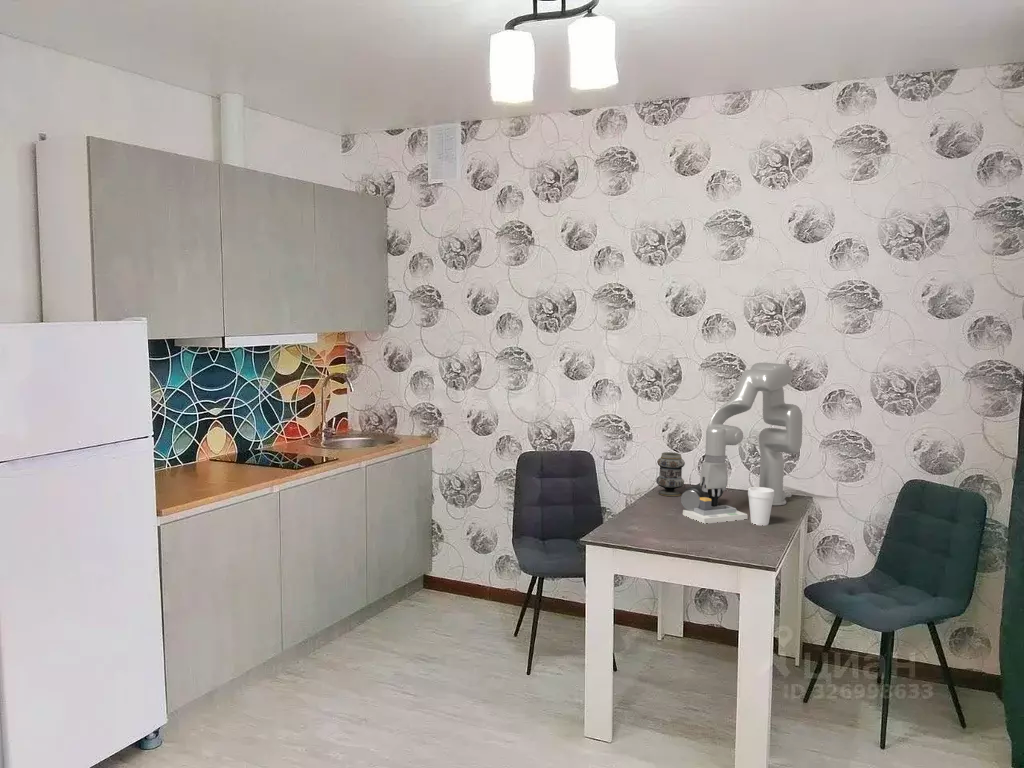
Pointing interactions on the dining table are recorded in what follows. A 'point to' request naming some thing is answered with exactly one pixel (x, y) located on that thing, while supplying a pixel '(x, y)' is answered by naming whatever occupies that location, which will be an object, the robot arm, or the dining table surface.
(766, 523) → the foam cup
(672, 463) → the apothecary jar
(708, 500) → the breaker lever
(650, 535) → the dining table surface
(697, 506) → the muzzle brake
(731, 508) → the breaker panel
